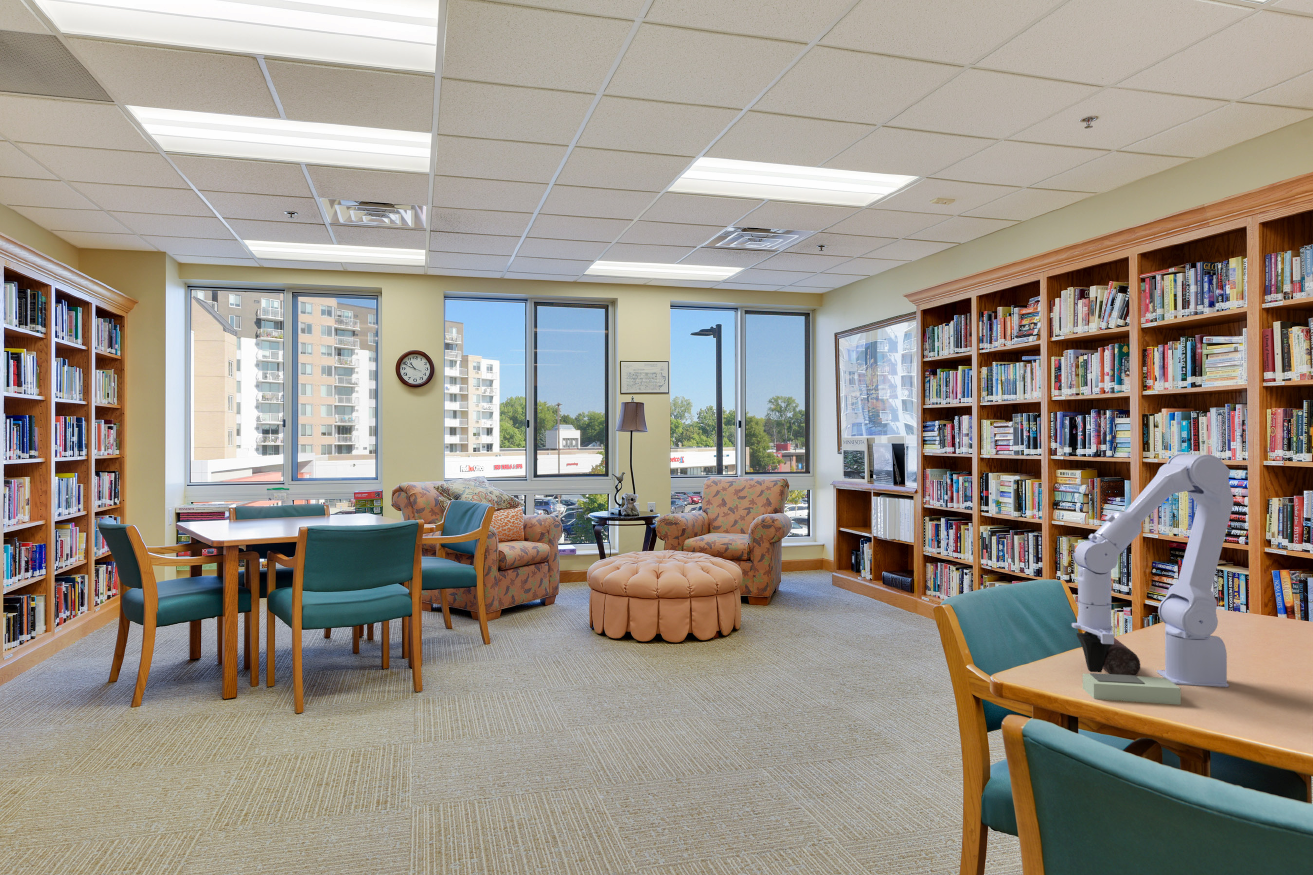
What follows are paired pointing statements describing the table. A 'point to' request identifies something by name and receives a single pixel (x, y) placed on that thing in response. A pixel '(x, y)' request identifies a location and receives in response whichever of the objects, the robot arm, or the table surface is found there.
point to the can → (1121, 660)
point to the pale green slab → (1131, 688)
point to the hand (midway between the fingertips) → (1094, 671)
